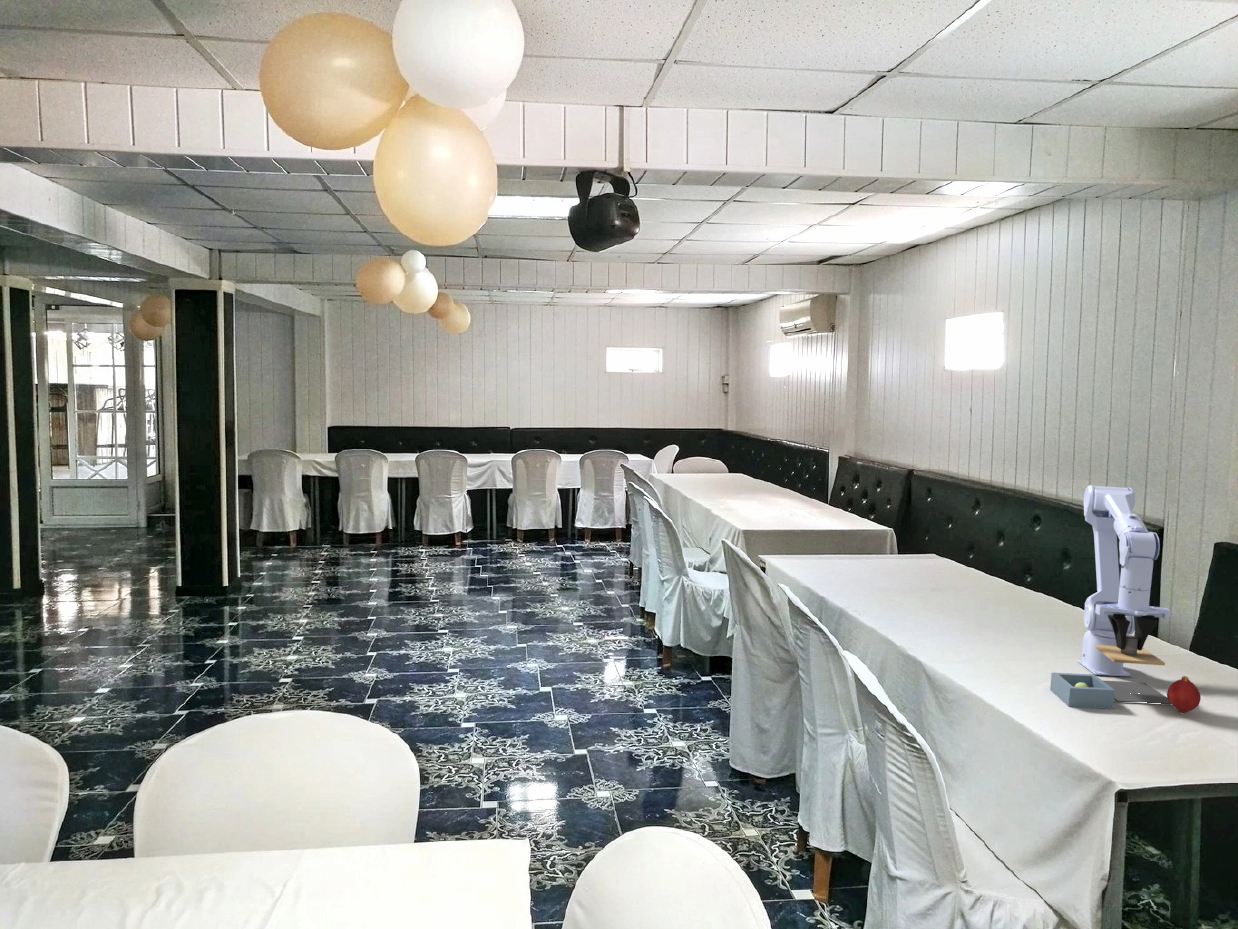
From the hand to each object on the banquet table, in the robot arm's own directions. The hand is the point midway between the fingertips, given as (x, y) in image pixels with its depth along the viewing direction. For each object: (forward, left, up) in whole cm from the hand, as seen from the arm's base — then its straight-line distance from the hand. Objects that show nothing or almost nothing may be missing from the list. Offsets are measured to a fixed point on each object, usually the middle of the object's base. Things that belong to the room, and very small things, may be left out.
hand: (1128, 648), depth 185 cm
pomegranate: (+9, +7, -11) cm, 16 cm away
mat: (-1, +2, -10) cm, 11 cm away
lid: (0, 0, -2) cm, 2 cm away
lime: (+4, -11, -8) cm, 14 cm away
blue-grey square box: (+4, -11, -10) cm, 16 cm away
